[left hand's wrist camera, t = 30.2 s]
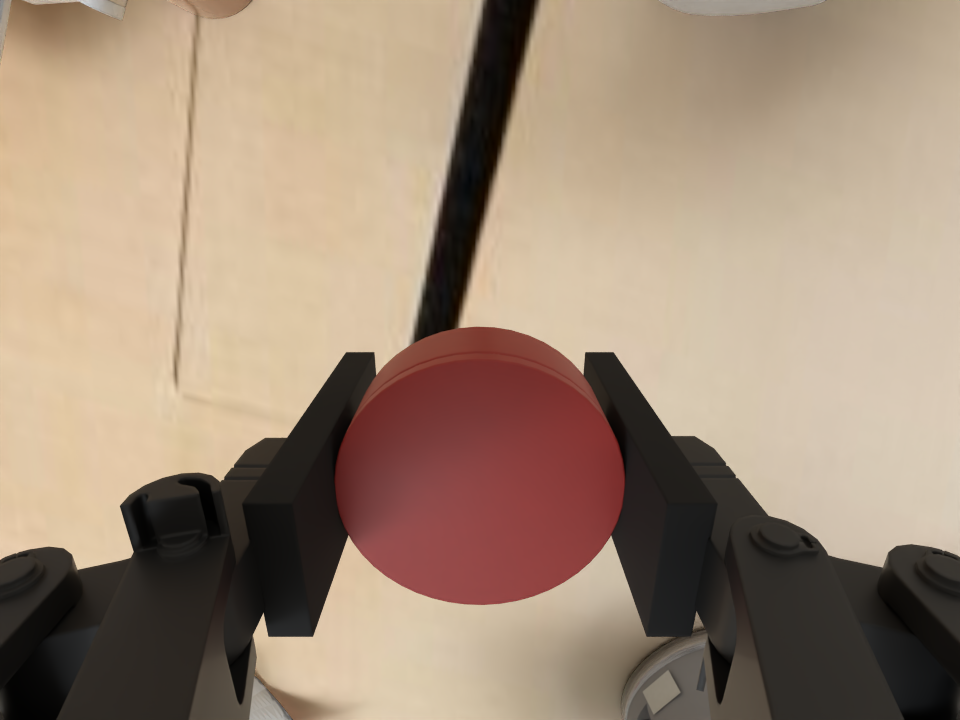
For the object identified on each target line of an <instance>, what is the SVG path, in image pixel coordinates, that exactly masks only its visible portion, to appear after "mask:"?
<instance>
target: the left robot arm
mask: <svg viewBox="0 0 960 720" xmlns="http://www.w3.org/2000/svg"><path fill="white" fill-rule="evenodd" d="M375 377H376V368H375V355H374V352H346V353H345V355H344V356H343V358H342V359H341V361H340V362H339V364H338V365H337V366H336V368H335V369H334V371H333V372H332V374H331V375H330V377H329V378H328V379H327V381H326V382H325V384H324V385H323V387H322V388H321V390H320V391H319V392H318V394H317V395H316V397H315V398H314V400H313V401H312V403H311V404H310V406H309V407H308V408H307V410H306V411H305V413H304V414H303V416H302V417H301V419H300V420H299V421H298V423H297V424H296V426H295V427H294V429H293V430H292V432H291V433H290V435H289V436H288V437H287V438H264V439H263V440H261V441H260V442H258V443H257V444H255V445H253V446H252V447H250V448H249V449H247V450H246V451H245V452H244V453H243V455H242V456H241V457H240V458H239V460H238V461H237V462H236V463H235V464H234V468H231V469H230V471H229V472H228V473H227V474H226V476H225V477H224V480H222V481H221V482H220V481H218V480H217V479H216V478H214V477H213V476H212V475H207V474H203V473H183V474H178V475H173V476H169V477H165V478H162V479H159V480H157V481H154V482H152V483H149V484H147V485H145V486H143V487H141V488H140V489H138V490H137V491H135V492H134V493H132V494H131V495H129V496H128V497H127V499H126V500H125V501H124V502H123V503H122V504H121V505H120V508H121V511H122V515H123V518H124V521H125V524H126V528H127V531H128V534H129V538H130V541H131V544H132V547H133V551H134V553H133V555H132V557H131V558H129V559H125V560H122V561H117V562H113V563H108V564H103V565H99V566H94V567H89V568H85V569H80V570H77V567H76V565H75V562H74V559H73V556H72V554H70V553H69V552H68V551H66V550H65V549H64V548H55V547H44V548H37V549H30V550H26V551H22V552H19V553H17V554H16V553H15V554H12V555H10V556H7V557H5V558H3V559H1V560H0V720H249V717H250V709H251V700H252V692H253V683H254V675H255V666H256V658H257V657H256V650H255V644H254V639H253V633H254V631H255V629H256V627H257V625H258V623H259V621H260V619H261V617H262V615H263V612H264V617H265V622H266V627H267V632H268V637H313V635H314V632H315V629H316V627H317V624H318V621H319V618H320V615H321V612H322V609H323V606H324V604H325V601H326V598H327V595H328V592H329V589H330V586H331V584H332V581H333V578H334V575H335V572H336V569H337V566H338V563H339V561H340V558H341V555H342V552H343V549H344V546H345V543H346V541H347V538H348V533H347V531H346V529H345V527H344V525H343V522H342V520H341V517H340V514H339V511H338V507H337V500H336V492H335V483H334V475H335V464H336V460H337V456H338V452H339V448H340V446H341V443H342V441H343V439H344V436H345V434H346V432H347V430H348V427H349V425H350V424H351V421H352V419H353V417H354V415H355V413H356V411H357V409H358V407H359V405H360V403H361V401H362V399H363V397H364V395H365V393H366V391H367V389H368V388H369V386H370V384H371V383H372V381H373V379H374V378H375ZM584 377H585V379H586V380H587V382H588V383H589V385H590V386H591V388H592V390H593V392H594V394H595V396H596V398H597V400H598V402H599V404H600V406H601V408H602V410H603V413H604V415H605V417H606V419H607V421H608V423H609V425H610V427H611V429H612V431H613V433H614V435H615V437H616V439H617V441H618V444H619V447H620V450H621V453H622V457H623V462H624V469H625V489H624V497H623V505H622V510H621V513H620V516H619V519H618V522H617V524H616V526H615V528H614V530H613V532H612V534H611V536H612V539H613V541H614V544H615V547H616V550H617V553H618V556H619V559H620V562H621V564H622V567H623V570H624V573H625V576H626V579H627V582H628V584H629V587H630V590H631V593H632V596H633V599H634V602H635V605H636V607H637V610H638V613H639V616H640V619H641V622H642V625H643V627H644V630H645V633H646V636H647V637H680V638H677V639H675V640H673V641H671V642H669V643H667V644H665V645H664V646H662V647H660V648H659V649H657V650H656V651H655V652H653V653H652V654H650V655H649V656H648V657H647V658H646V659H645V660H644V661H643V662H642V663H641V664H640V665H639V666H638V667H637V668H636V669H635V671H634V672H633V673H632V675H631V676H630V678H629V679H628V681H627V684H626V686H625V688H624V691H623V695H622V701H621V711H622V716H623V720H960V557H959V556H957V555H955V554H952V553H949V552H947V551H942V550H940V549H936V548H932V547H927V546H920V545H913V544H910V545H902V546H896V547H895V548H893V549H892V550H891V551H890V552H888V555H887V558H886V561H885V563H884V566H883V568H882V567H877V566H872V565H868V564H863V563H858V562H853V561H849V560H844V559H839V558H836V557H832V556H828V554H827V552H826V550H825V549H824V548H823V546H822V545H821V544H820V542H819V541H818V540H817V539H816V538H815V537H813V536H812V535H811V534H809V533H808V532H807V531H805V530H804V529H802V528H800V527H798V526H796V525H794V524H792V523H790V522H788V521H785V520H782V519H778V518H774V517H770V516H768V515H767V513H766V512H765V511H764V510H763V508H762V507H761V506H760V505H759V504H758V502H757V501H756V500H755V499H754V497H753V496H752V495H751V494H750V492H749V491H748V490H747V489H746V487H745V486H744V485H743V484H742V482H741V481H740V480H739V479H738V478H736V475H735V474H734V473H733V471H732V470H731V469H730V468H729V466H726V463H725V461H724V460H723V459H722V458H721V457H720V455H719V454H718V453H717V452H716V450H715V449H714V448H712V447H711V446H709V445H708V444H706V443H704V442H703V441H701V440H700V439H698V438H697V437H695V436H671V435H670V434H669V432H668V431H667V429H666V428H665V426H664V425H663V423H662V422H661V421H660V419H659V418H658V416H657V415H656V413H655V412H654V410H653V409H652V407H651V406H650V405H649V403H648V402H647V400H646V399H645V397H644V396H643V394H642V393H641V392H640V390H639V389H638V387H637V386H636V384H635V383H634V381H633V380H632V379H631V377H630V376H629V374H628V373H627V371H626V370H625V368H624V367H623V365H622V364H621V363H620V361H619V360H618V358H617V357H616V355H615V354H614V352H585V363H584ZM696 611H697V613H698V615H699V617H700V619H701V621H702V623H703V625H704V627H705V630H701V631H697V632H694V633H692V630H693V625H694V620H695V615H696Z"/></svg>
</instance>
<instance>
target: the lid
mask: <svg viewBox="0 0 960 720" xmlns="http://www.w3.org/2000/svg"><path fill="white" fill-rule="evenodd" d="M334 483H335V492H336V500H337V507H338V511H339V514H340V517H341V520H342V522H343V525H344V527H345V529H346V531H347V533H348V535H349V536H350V538H351V540H352V542H353V543H354V544H355V546H356V547H357V548H358V550H359V551H360V552H361V554H362V555H363V556H364V557H365V558H366V559H367V560H368V561H369V562H370V563H371V564H372V565H373V566H374V567H375V568H377V569H378V570H379V571H380V572H382V573H383V574H384V575H385V576H387V577H388V578H390V579H392V580H393V581H395V582H396V583H398V584H400V585H401V586H404V587H406V588H408V589H410V590H412V591H414V592H416V593H419V594H422V595H425V596H428V597H431V598H434V599H438V600H442V601H447V602H453V603H460V604H474V605H487V604H501V603H507V602H513V601H518V600H522V599H525V598H529V597H532V596H535V595H538V594H540V593H543V592H545V591H548V590H550V589H552V588H554V587H556V586H558V585H560V584H562V583H563V582H565V581H567V580H568V579H570V578H571V577H572V576H574V575H575V574H577V573H578V572H579V571H581V570H582V569H583V568H584V567H585V566H586V565H587V564H589V563H590V562H591V561H592V560H593V558H594V557H595V556H596V555H597V554H598V553H599V552H600V551H601V549H602V548H603V546H604V545H605V544H606V542H607V541H608V539H609V538H610V536H611V534H612V532H613V530H614V528H615V526H616V524H617V522H618V519H619V516H620V513H621V510H622V505H623V497H624V489H625V469H624V462H623V457H622V453H621V450H620V447H619V444H618V441H617V439H616V437H615V435H614V433H613V431H612V429H611V427H610V425H609V423H608V421H607V419H606V417H605V415H604V413H603V410H602V408H601V406H600V404H599V402H598V400H597V398H596V396H595V394H594V392H593V390H592V388H591V386H590V385H589V383H588V382H587V380H586V379H585V377H584V376H583V374H582V373H581V372H580V371H579V370H578V369H577V368H576V366H575V365H574V364H573V363H572V362H571V361H570V360H568V359H567V358H566V357H565V356H564V355H562V354H561V353H560V352H559V351H557V350H556V349H554V348H552V347H551V346H549V345H547V344H546V343H544V342H542V341H540V340H538V339H535V338H533V337H531V336H529V335H525V334H522V333H519V332H515V331H512V330H506V329H500V328H494V327H468V328H458V329H453V330H449V331H444V332H440V333H437V334H435V335H432V336H429V337H426V338H424V339H422V340H420V341H418V342H416V343H414V344H412V345H410V346H409V347H407V348H406V349H404V350H403V351H401V352H400V353H398V354H397V355H396V356H395V357H394V358H392V359H391V360H390V361H389V362H388V363H387V364H386V365H385V366H384V367H383V368H382V369H381V371H380V372H379V373H378V374H377V375H376V377H375V378H374V379H373V381H372V383H371V384H370V386H369V388H368V389H367V391H366V393H365V395H364V397H363V399H362V401H361V403H360V405H359V407H358V409H357V411H356V413H355V415H354V417H353V419H352V421H351V424H350V425H349V427H348V430H347V432H346V434H345V436H344V439H343V441H342V443H341V446H340V448H339V452H338V456H337V460H336V464H335V475H334Z"/></svg>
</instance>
